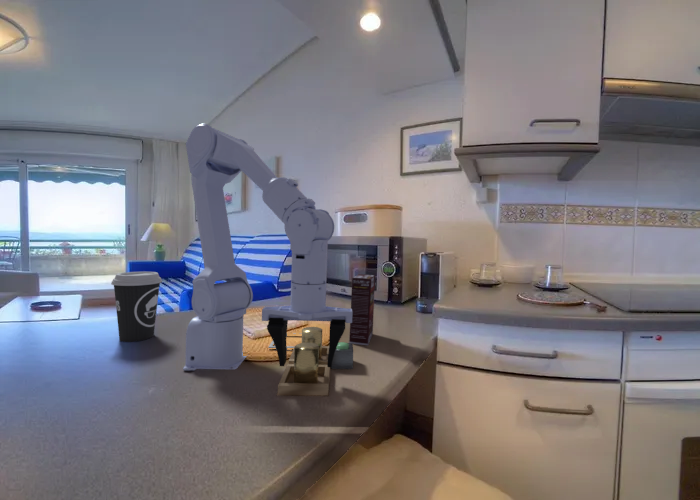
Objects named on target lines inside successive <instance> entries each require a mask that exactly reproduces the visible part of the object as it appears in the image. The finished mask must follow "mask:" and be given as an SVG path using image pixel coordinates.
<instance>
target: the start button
mask: <svg viewBox="0 0 700 500" xmlns="http://www.w3.org/2000/svg"><path fill="white" fill-rule="evenodd" d="M348 343H349V342H344V341H343V342H342V341H341V342H340V341H339V343H338V345H337V347H336V349H349V344H348Z"/></svg>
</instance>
